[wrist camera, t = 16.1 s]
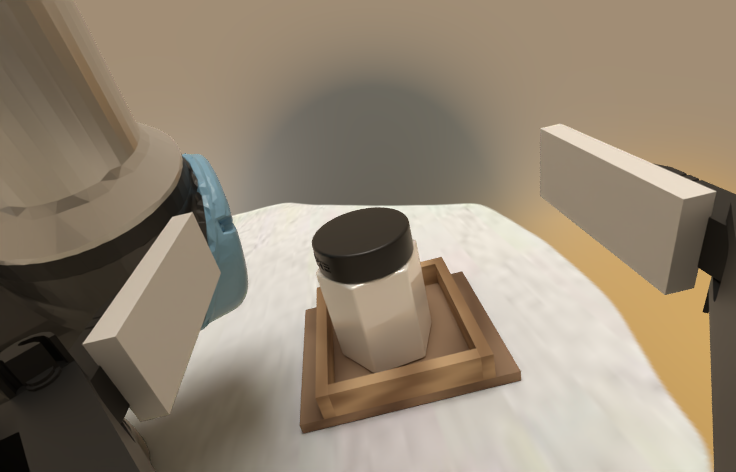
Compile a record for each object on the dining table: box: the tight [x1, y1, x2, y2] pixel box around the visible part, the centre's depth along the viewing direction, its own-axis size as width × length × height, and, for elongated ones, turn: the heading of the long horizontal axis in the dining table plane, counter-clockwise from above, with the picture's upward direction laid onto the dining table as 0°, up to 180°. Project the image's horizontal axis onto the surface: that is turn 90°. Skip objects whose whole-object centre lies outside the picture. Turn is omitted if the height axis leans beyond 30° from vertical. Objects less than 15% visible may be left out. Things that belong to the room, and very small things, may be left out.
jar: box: [312, 207, 431, 373], centre depth 36 cm, size 9×8×12 cm
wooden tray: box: [300, 257, 521, 433], centre depth 39 cm, size 18×15×4 cm
